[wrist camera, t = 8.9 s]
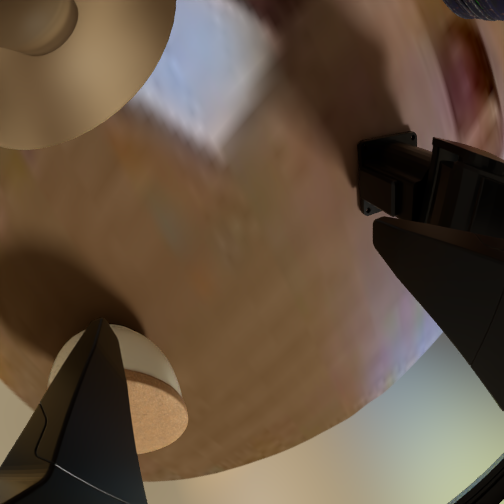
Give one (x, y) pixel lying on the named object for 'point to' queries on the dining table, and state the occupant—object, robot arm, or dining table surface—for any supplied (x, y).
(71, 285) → the dining table surface
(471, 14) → the storage jar
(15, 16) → the lid
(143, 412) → the lidded jar
